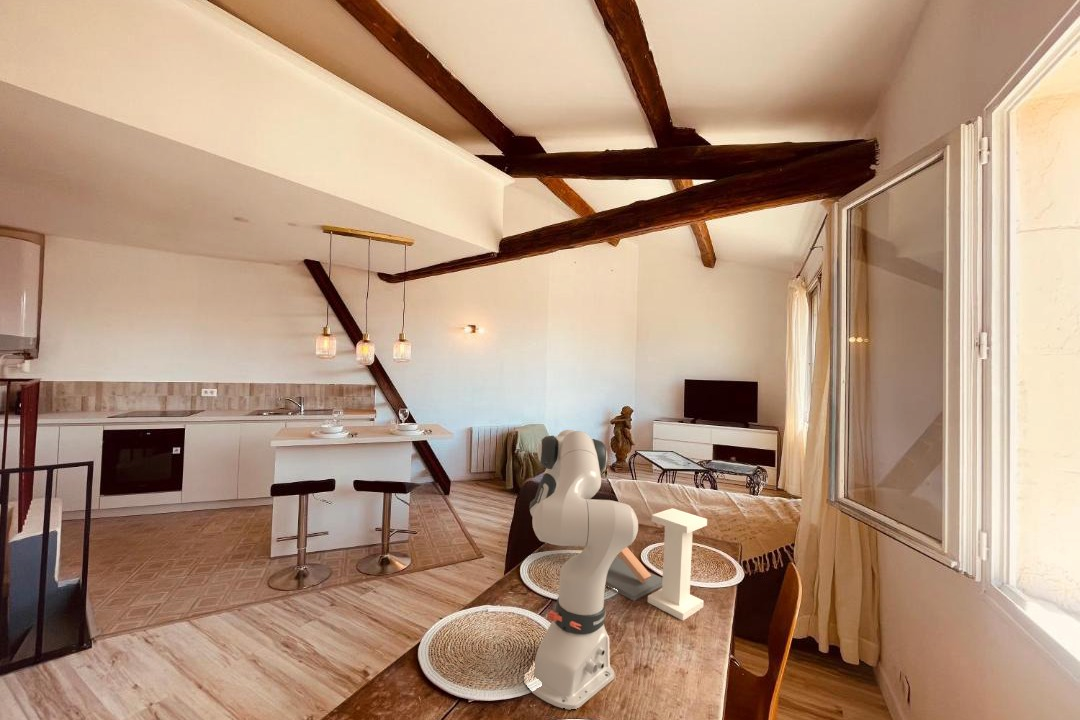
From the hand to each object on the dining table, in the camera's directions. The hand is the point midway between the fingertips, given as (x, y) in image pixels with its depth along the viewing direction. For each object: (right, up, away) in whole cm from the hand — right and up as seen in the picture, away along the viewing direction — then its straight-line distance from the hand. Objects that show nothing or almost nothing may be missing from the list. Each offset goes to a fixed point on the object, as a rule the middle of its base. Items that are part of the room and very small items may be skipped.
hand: (606, 530), depth 153 cm
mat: (+3, -14, -5) cm, 15 cm away
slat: (+4, -5, -5) cm, 8 cm away
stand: (+18, -14, -21) cm, 31 cm away
